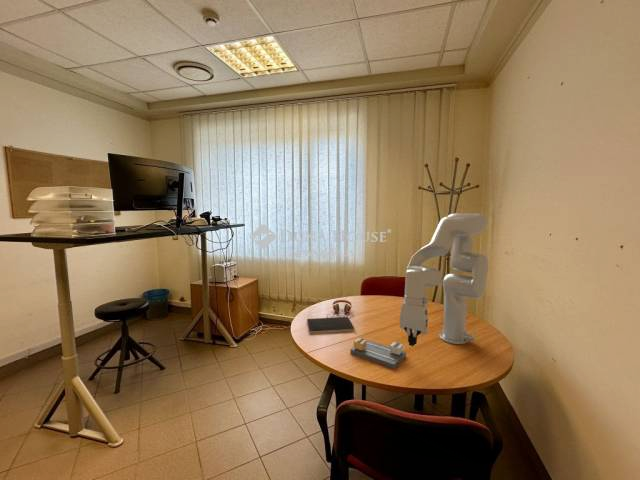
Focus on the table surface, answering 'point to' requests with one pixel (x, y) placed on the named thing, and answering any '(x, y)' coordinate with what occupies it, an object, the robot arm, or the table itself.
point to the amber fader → (360, 344)
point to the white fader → (396, 348)
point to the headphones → (346, 308)
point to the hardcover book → (330, 325)
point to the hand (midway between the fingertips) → (412, 344)
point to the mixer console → (379, 354)
